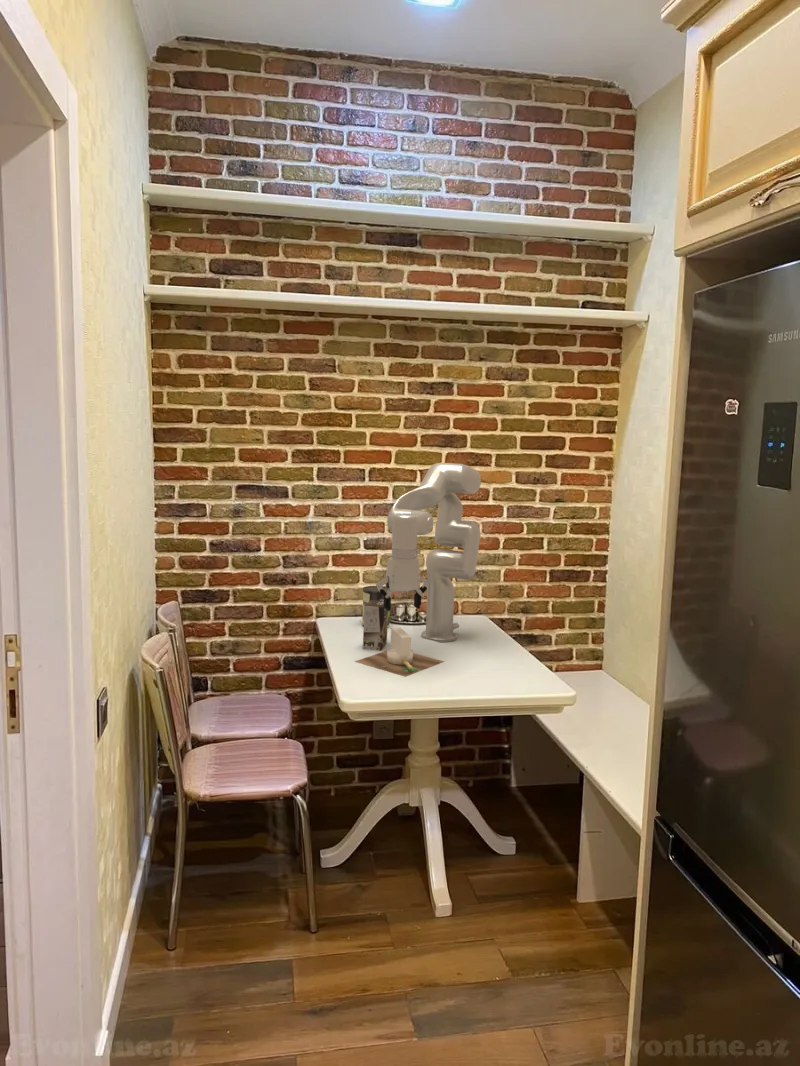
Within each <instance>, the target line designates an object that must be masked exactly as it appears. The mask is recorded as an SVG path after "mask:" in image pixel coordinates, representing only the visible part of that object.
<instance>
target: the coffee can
mask: <svg viewBox="0 0 800 1066" xmlns="http://www.w3.org/2000/svg"><path fill="white" fill-rule="evenodd" d="M382 588H383V590H384V591H385V590H386V589H387V588H386V586H385V585H383V586H382ZM362 595H363V596H362V614H361V615H362V618H361V625H362V624H363V625H364V606H365V605H366V604H367V603H368V602H369V601H370V600H375V601H376V600H379V601H384V596H383V595H382V594H381V593H380V592H379V590H378V588H377V586H376V585H367V586H364V587H362ZM390 613H391V610H390V611H388V622H387V627H388V626H389V627H390V617H391V616H390ZM389 627H388V628H389Z"/></svg>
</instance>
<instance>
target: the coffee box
mask: <svg viewBox="0 0 800 1066" xmlns="http://www.w3.org/2000/svg"><path fill="white" fill-rule="evenodd" d="M387 622H388V610H386V609H385V607H384V601H379V600H376V601H375V600H370V601H369V602H368V603H367V604H366V605H365V606H364V627H363V632H362V633H363V636H362V650H367V651H377V652H378V651H379V652H382V650H383V649H384V648H385V647H386V645H387V643H388V628H387Z"/></svg>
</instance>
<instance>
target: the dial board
mask: <svg viewBox="0 0 800 1066" xmlns="http://www.w3.org/2000/svg"><path fill="white" fill-rule="evenodd" d="M354 663H357V664H361V665H364V666H368V667H371V668H374V669H378V670H381V671H384V672H388V673H392V674H394V675H399V676H402V677H405V678H406V677H408V676H409V677H410V676H411V675H413V674H416V673H419V672H422V671H425V670H427V669H429V668H432V667H434V666H437V665H440V664H443V663H445V661H444V660H441V659H437V658H433V657H430V656H426V655H422V654H418V653H415V652H413V662H412V663H410V665H411V666H412V667H413V669H409V668H408V667H407V666H406V665H398V664H392V663H389V662H388V661H387V650H385V651H380V652H378V653H375V654H372V655H369V656H367V657H364V658H361V659H357V660H354Z"/></svg>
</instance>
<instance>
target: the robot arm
mask: <svg viewBox="0 0 800 1066" xmlns="http://www.w3.org/2000/svg"><path fill="white" fill-rule="evenodd" d="M481 484H482V478H481V475H480V473H479V471H478V470H477V469H475V468H473V467H471V466H469V465H467V464H463V463H453V462H452V463H451V462H437V463H434V464H432V465H431V466H430V467H429V469H428V470H427V472H426V474H425V475H424V477H423V479H422V480H421V483H420V484H419V486H418V487H416V488H414V489H412V490H410V491H408V492H406V493H404V494H402V495H401V496H399V497H398V498H397V499H396V500H395V501H394V502H393V505H392V506H391V507H390V508H391V509H390V510H389V512H388V515H387V519H386V522H387V523H386V524H387V528H388V529H389V531H391V532H392V533H391V534H392V535H391V557H389V558H388V561H387V565H386V572H385V577H384V578H383V579H381V580H380V581H378V582H376V583H375V586H377V588H378V590H379V592H380V593H381V594H382V595H383V596H384V607H385V609H386V610H388V611H390V612H391V608H392V607H391V606H392V599H391V595H393V593H394V592H413V591H414V596H413V606H414V607H415V608H416V609H420V608H421V605H422V596H423V595H424V593H425V592H426V591H427V592H426V594H427V595H426V615H425V616H426V617H425V618H426V620H425V630H424V631H422V632H421V634H420V636H421V638H422V639H424V640H429V641H433V642H437V643H447V642H454V641H456V640H457V638H458V637H457V635H458V634H457V633H455V632H454V630H455V629H458V628H459V626H460V624H459V623H458V622H455V623H454V613H455V611H454V609H455V591H456V590H455V586H454V584H453V582H452V581H451V579H458V580H460V579H461V580H471V579H472V578H473V577H474V575H475V573H476V569H477V563H478V555H479V551H480V549H479V548H480V542H481V529H480V526H479V525H478V523H477V522H475V521H472V520H463V519H462V517H463V511H464V510H463V509H464V508H463V507H464V506H463V504H462V501H461V500H460V498H459V497H458V495H457V494H466V495H474V494H476V493H477V492H479V490H480V489H481V488H480V487H481ZM437 505H438V510H437V517H436V523H435V531H434V532H435V533H434V540H435V542H436V544H438V545H439V546H445V547H452V548H453V547H454V548H462V549H463V551H462V550H454V549H445V548H435V549H432V550H431V551H428V553H427V555H426V559H425V566H426V567H425V568H426V573H427V574H426V575H427V579H426V578H424V577H423V576H421V568H420V561H419V558H418V555H421V553H422V552H421V549H418V548H417V546H418V543H417V542H418V536H424V535H427V534H429V533H430V532H431V531H432V529H433V527H434V518H433V516H432V514H431V513H429V512H428V511H425V510H426V509H430V508H433V507H435V506H437ZM421 583H423V584H422V585H421ZM382 586H384V587H386V588H387V589H386V590H385V591H384V590H383V588H382Z"/></svg>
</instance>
